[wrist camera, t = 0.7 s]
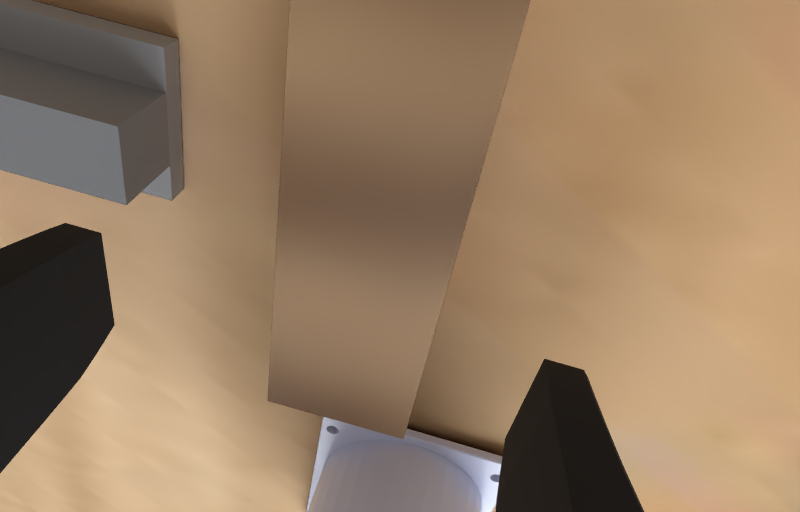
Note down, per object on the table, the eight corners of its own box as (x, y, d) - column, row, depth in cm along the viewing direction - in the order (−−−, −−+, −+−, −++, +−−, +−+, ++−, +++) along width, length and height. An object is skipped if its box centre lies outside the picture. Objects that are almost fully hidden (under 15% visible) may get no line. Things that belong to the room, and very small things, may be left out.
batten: (434, 312, 21) (403, 439, 17) (325, 282, 22) (267, 400, 17) (567, -165, 13) (576, -158, 8) (386, -205, 13) (301, -217, 9)
